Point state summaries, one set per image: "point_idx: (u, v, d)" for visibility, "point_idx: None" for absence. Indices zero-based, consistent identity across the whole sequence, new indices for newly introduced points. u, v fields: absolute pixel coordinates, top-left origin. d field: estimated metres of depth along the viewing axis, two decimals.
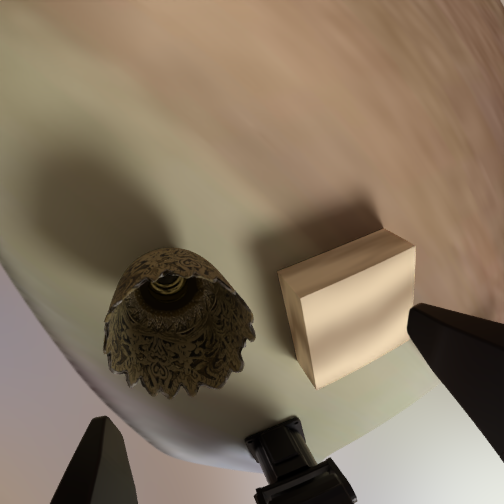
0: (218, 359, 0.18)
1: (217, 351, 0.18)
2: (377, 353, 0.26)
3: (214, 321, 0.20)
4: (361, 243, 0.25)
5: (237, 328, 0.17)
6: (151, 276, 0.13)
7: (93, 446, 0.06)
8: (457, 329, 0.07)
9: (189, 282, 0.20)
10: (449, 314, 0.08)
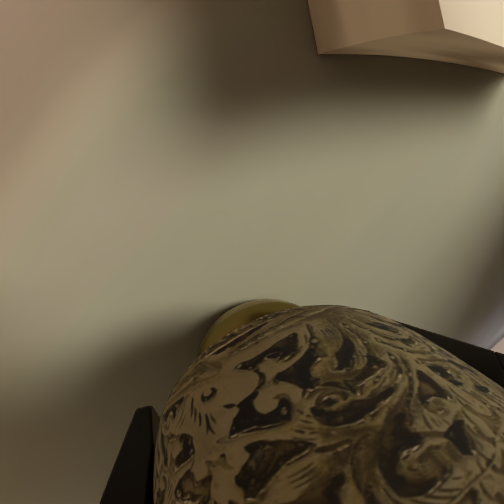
0: None
1: None
2: None
3: None
4: None
5: (479, 406, 0.03)
6: None
7: (142, 437, 0.06)
8: None
9: None
10: None
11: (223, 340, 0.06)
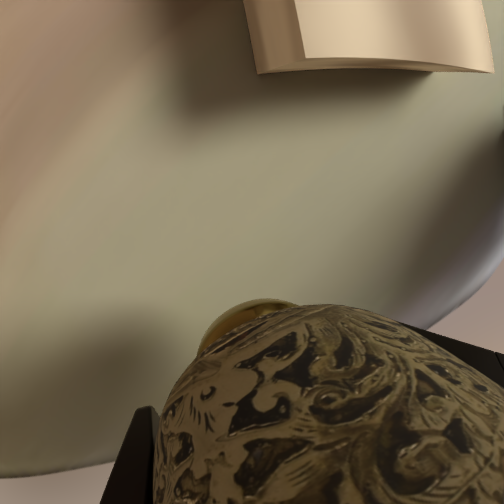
0: None
1: None
2: None
3: None
4: None
5: (478, 405, 0.03)
6: None
7: (143, 437, 0.06)
8: None
9: None
10: None
11: (222, 339, 0.06)
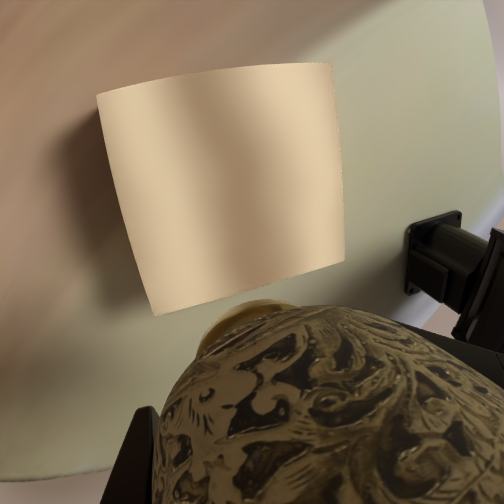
0: None
1: None
2: (327, 144, 0.14)
3: None
4: None
5: (478, 406, 0.03)
6: None
7: (142, 437, 0.06)
8: None
9: None
10: None
11: (221, 340, 0.06)
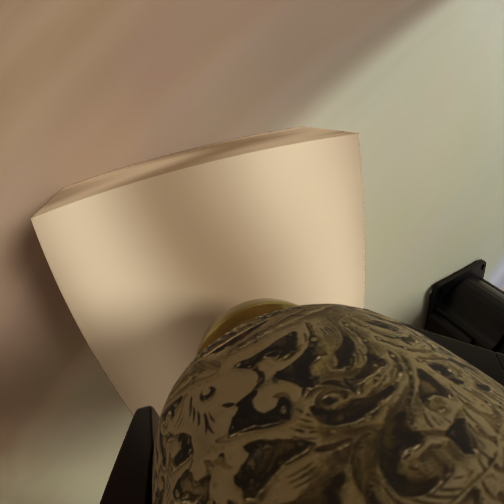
0: None
1: None
2: (348, 247, 0.11)
3: None
4: None
5: (481, 404, 0.03)
6: None
7: (142, 437, 0.06)
8: None
9: None
10: None
11: (222, 339, 0.06)
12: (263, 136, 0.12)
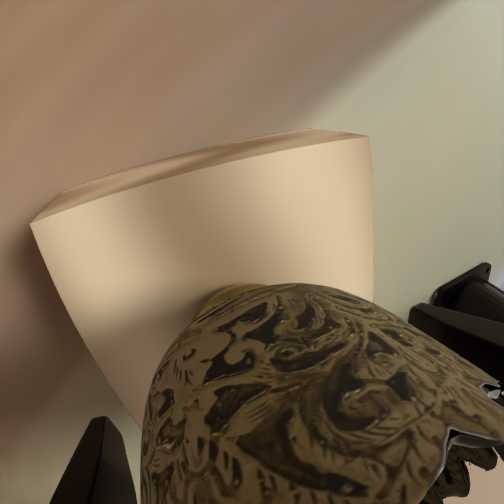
0: None
1: None
2: (357, 253, 0.11)
3: None
4: None
5: (431, 367, 0.04)
6: None
7: (92, 446, 0.06)
8: (457, 329, 0.07)
9: None
10: (449, 314, 0.08)
11: (205, 312, 0.06)
12: (270, 138, 0.11)
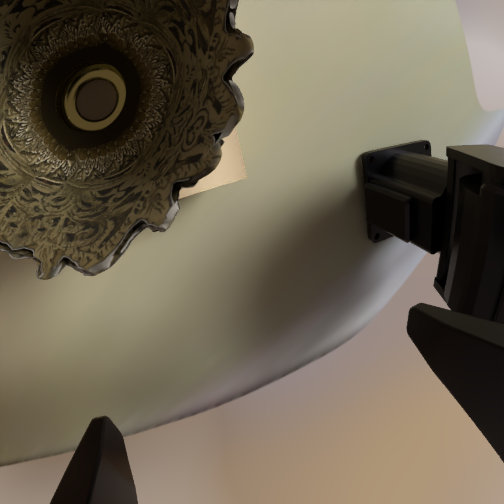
0: None
1: None
2: None
3: (144, 7, 0.07)
4: None
5: None
6: None
7: (93, 446, 0.06)
8: (457, 329, 0.07)
9: (90, 58, 0.08)
10: (449, 314, 0.08)
11: (41, 32, 0.07)
12: None
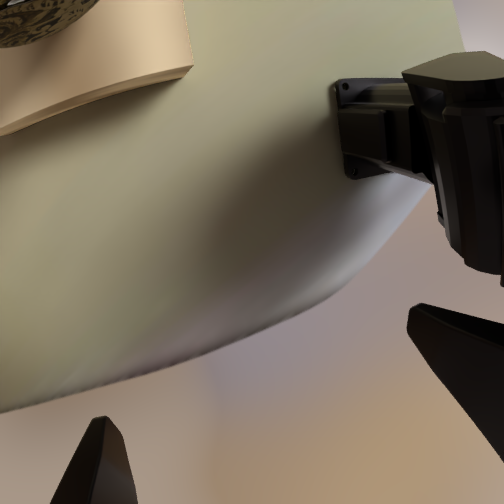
0: None
1: None
2: None
3: None
4: None
5: None
6: None
7: (93, 446, 0.06)
8: (457, 329, 0.07)
9: None
10: (449, 314, 0.08)
11: None
12: None
